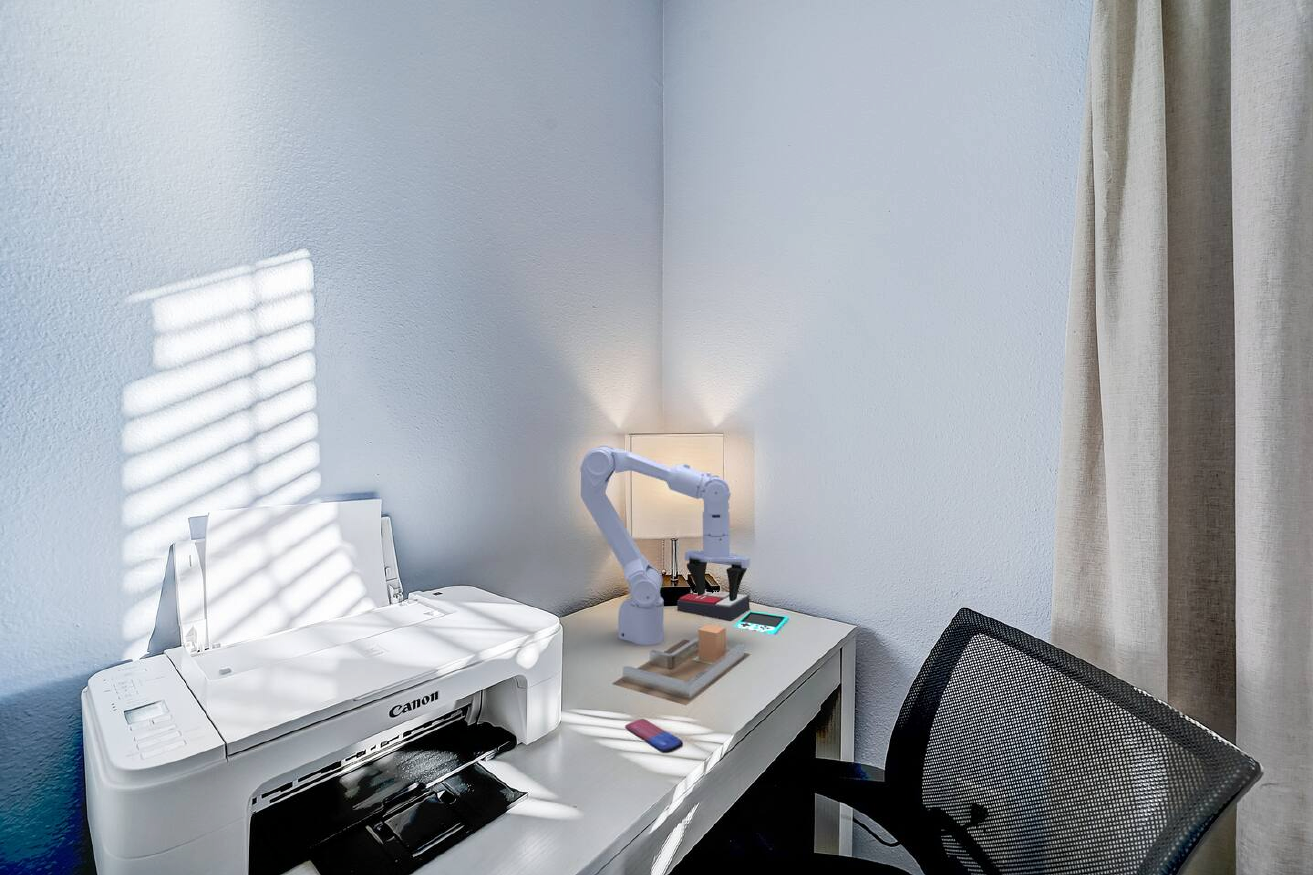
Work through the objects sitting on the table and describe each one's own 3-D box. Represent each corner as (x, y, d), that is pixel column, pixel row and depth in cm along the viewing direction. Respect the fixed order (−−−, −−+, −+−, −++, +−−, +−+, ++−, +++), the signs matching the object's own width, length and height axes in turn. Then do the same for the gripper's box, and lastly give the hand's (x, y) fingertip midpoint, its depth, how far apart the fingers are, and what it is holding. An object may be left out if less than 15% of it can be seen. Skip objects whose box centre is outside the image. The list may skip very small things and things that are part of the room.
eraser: (619, 733, 100) (619, 722, 100) (639, 725, 103) (639, 714, 103) (664, 762, 91) (664, 750, 91) (686, 752, 94) (685, 740, 94)
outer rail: (622, 680, 116) (622, 667, 116) (683, 643, 135) (683, 631, 134) (689, 699, 109) (689, 685, 108) (744, 656, 127) (744, 644, 127)
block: (698, 659, 126) (698, 629, 125) (707, 652, 129) (707, 623, 129) (716, 663, 123) (716, 633, 123) (725, 656, 127) (725, 627, 127)
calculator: (697, 587, 169) (749, 593, 160) (698, 603, 169) (750, 610, 160) (676, 597, 159) (729, 604, 151) (676, 614, 159) (730, 622, 151)
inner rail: (649, 664, 124) (649, 651, 124) (683, 643, 135) (683, 631, 134) (671, 669, 121) (671, 656, 121) (704, 647, 132) (704, 635, 132)
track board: (612, 689, 115) (611, 683, 115) (684, 643, 137) (684, 638, 137) (686, 710, 107) (686, 704, 107) (750, 658, 128) (750, 653, 128)
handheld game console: (726, 636, 143) (726, 630, 143) (749, 615, 157) (749, 609, 157) (769, 643, 138) (769, 637, 138) (789, 621, 153) (789, 615, 153)
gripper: (677, 534, 136) (678, 596, 136) (739, 540, 128) (740, 607, 128) (693, 528, 141) (694, 588, 142) (753, 534, 134) (754, 598, 134)
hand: (717, 597), depth 136 cm, fingers open, 7 cm apart
